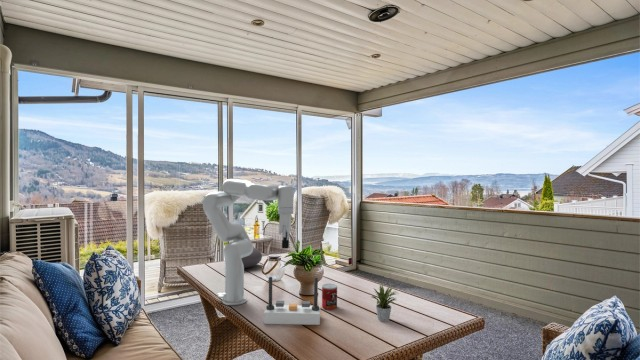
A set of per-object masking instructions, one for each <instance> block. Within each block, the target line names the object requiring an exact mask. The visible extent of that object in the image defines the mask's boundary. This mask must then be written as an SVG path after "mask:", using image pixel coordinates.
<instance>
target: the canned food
mask: <svg viewBox="0 0 640 360" xmlns="http://www.w3.org/2000/svg"><path fill="white" fill-rule="evenodd" d="M321 307H322V309H324V310H328V311H332V310H336V309H337V307H338V285H337V284H335V283H324V284H322V286H321Z"/></svg>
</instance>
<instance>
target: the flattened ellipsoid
mask: <svg viewBox="0 0 640 360" xmlns="http://www.w3.org/2000/svg"><path fill="white" fill-rule="evenodd" d="M262 259H263V254H262V252H261V250H259V249H258V248H256V247H254V246H253V251H252V253H251V254H250V255H249V256H246V257H243V258H241V260H242V262H243V265H244V269H248V268H252V267H255V266H256V265H258V264H259V263H260V262H261V261H262Z"/></svg>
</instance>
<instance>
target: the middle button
mask: <svg viewBox="0 0 640 360" xmlns="http://www.w3.org/2000/svg"><path fill="white" fill-rule="evenodd" d="M288 305H289V310H297V305H298V303H289V304H288Z"/></svg>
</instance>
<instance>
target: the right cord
mask: <svg viewBox="0 0 640 360" xmlns="http://www.w3.org/2000/svg"><path fill="white" fill-rule="evenodd" d="M318 283H319V279H318V277H314V278H313V305H311V306H312V310H313V311H319V310H320V311H321V306H320V305H318V300H319V299H318V297H319V295H318V290H319V288H318V286H319V284H318ZM319 306H320V307H319Z"/></svg>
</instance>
